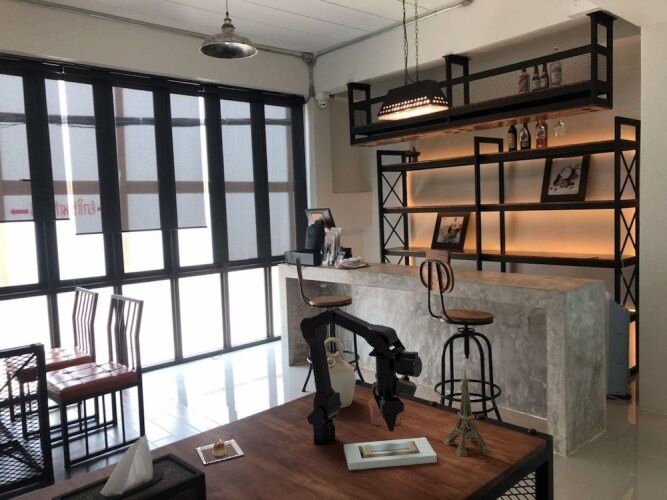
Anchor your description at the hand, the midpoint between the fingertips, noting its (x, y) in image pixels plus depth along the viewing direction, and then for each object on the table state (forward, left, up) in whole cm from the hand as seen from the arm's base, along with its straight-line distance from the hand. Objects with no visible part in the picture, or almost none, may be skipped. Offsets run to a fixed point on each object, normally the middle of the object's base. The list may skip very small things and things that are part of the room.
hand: (388, 424), depth 156 cm
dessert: (-50, +12, -10) cm, 53 cm away
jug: (-11, +46, -10) cm, 48 cm away
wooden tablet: (+5, +35, -10) cm, 37 cm away
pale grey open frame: (0, 0, -10) cm, 10 cm away
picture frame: (0, 0, -10) cm, 10 cm away
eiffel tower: (+24, +2, -10) cm, 26 cm away
